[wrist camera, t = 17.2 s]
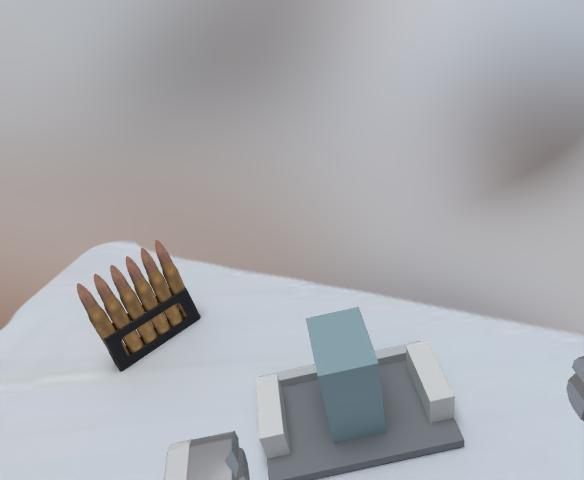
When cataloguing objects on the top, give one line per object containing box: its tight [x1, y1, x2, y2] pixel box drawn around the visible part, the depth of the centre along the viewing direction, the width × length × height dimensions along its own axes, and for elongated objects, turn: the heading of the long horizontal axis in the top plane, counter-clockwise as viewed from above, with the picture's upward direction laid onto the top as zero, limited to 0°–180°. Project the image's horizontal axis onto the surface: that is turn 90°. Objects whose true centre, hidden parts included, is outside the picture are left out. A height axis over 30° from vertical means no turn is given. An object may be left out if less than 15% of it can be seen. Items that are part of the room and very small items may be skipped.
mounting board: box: [255, 341, 464, 480], centre depth 40 cm, size 16×10×4 cm, turn 97°
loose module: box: [306, 307, 386, 444], centre depth 38 cm, size 4×6×9 cm
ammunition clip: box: [77, 240, 200, 371], centre depth 50 cm, size 11×2×12 cm, turn 131°
